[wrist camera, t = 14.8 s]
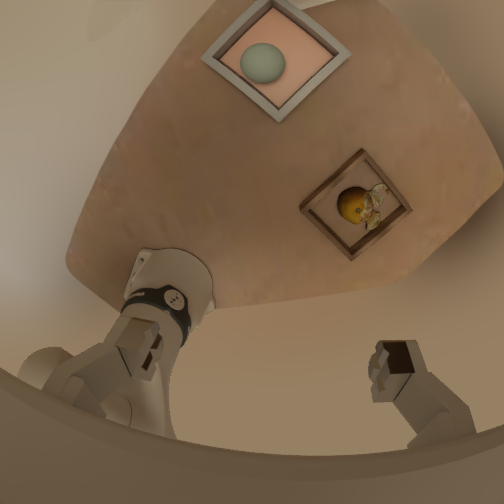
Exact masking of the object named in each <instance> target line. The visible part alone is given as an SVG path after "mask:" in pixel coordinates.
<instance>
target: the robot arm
mask: <svg viewBox="0 0 504 504" xmlns="http://www.w3.org/2000/svg"><path fill="white" fill-rule="evenodd" d="M142 258H143V259H144V260H143V259H142ZM212 290H213V283H212V278H211V275H210V273H209V271H208V270H207V268H206V267H205V265H204V264H203V263H202V262H201V261H200V260H199V259H197V258H196V257H195V256H193V255H191V254H189V253H187V252H185V251H182V250H179V249H172V248H168V249H161V250H152V249H146V248H143V249H141V250H140V252H139V254H138V256H137V259H136V261H135V264H134V267H133V270H132V272H131V275H130V278H129V281H128V283H127V286H126V289H125V292H124V298H125V300H126V301H125V303H124V305H123V307H122V309H121V315H120V316H119V318H118V319H117V321H116V323H115V324H114V326H113V327H112V329H111V330H110V332H109V333H108V335H107V337H106V338H105V341H104V342H103V343H98V344H96V345H95V346H93V347H91V348H89V349H87V350H86V351H84V352H82V353H80V354H79V355H77V356H75V357H74V356H73V355H71V354H70V353H68V352H67V351H65V350H64V349H62V348H61V347H48V348H43V349H40V350H38V351H36V352H34V353H33V354H31V355H30V356H29V357H28V358H27V359H26V360H25V361H24V363H23V364H22V366H21V368H20V370H19V373H18V376H17V377H15V376H13V375H12V374H10V373H8V372H7V371H5V370H4V369H2V368H0V504H504V425H501V426H498V427H495V428H492V429H489V430H486V431H483V432H480V433H476V429H475V426H474V422H473V419H472V415H471V412H470V409H469V406H468V405H466V404H465V403H464V402H463V401H462V400H461V399H460V398H459V397H458V396H457V395H455V394H454V393H453V392H452V391H451V390H450V389H449V388H448V387H447V386H446V385H445V384H444V383H442V382H441V381H440V380H439V379H438V378H437V377H436V376H435V375H434V374H432V373H431V372H428V371H427V368H426V365H425V362H424V359H423V356H422V354H421V351H420V348H419V345H418V343H417V341H416V340H382V341H379V342H378V343H377V345H376V347H375V348H376V353H374V354H373V355H372V356H371V359H370V361H369V367H368V373H369V379H370V380H371V381H372V382H373V385H372V387H371V392H372V399H373V402H393V403H394V405H395V406H396V407H397V408H398V410H399V411H400V413H401V414H402V415H403V416H404V418H405V419H406V420H407V422H408V423H409V424H410V426H411V427H412V428H413V429H414V431H415V432H416V433H417V436H416V437H415V438H414V439H413V440H412V441H411V442H409V444H408V445H407V447H408V449H404V450H397V451H389V452H380V453H370V454H357V455H336V456H300V455H278V454H264V453H255V452H245V451H237V450H230V449H223V448H217V447H211V446H205V445H200V444H195V443H190V442H186V441H181V440H177V438H176V436H175V433H174V431H173V428H172V423H171V418H170V411H169V382H170V376H171V373H172V369H173V366H174V363H175V360H176V357H177V355H178V352H179V349H180V348H181V347H182V346H183V345H184V343H185V341H186V340H187V338H188V336H189V333H190V332H192V331H193V330H194V329H197V328H198V327H199V326H200V324H201V322H202V320H203V317H204V315H205V314H207V313H209V312H211V311H213V310H214V309H215V307H216V303H215V300H214V298H213V295H212Z"/></svg>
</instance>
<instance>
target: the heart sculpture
mask: <svg viewBox="0 0 504 504" xmlns="http://www.w3.org/2000/svg"><path fill="white" fill-rule="evenodd" d="M288 1H289V2H290V3H292V4H293V5H295V6H296V7H297V8H299V9H300V10H303V9H306V8H309V7H313V6H316V5H320V4H323V3H327V2H331V1H335V0H288Z"/></svg>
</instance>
